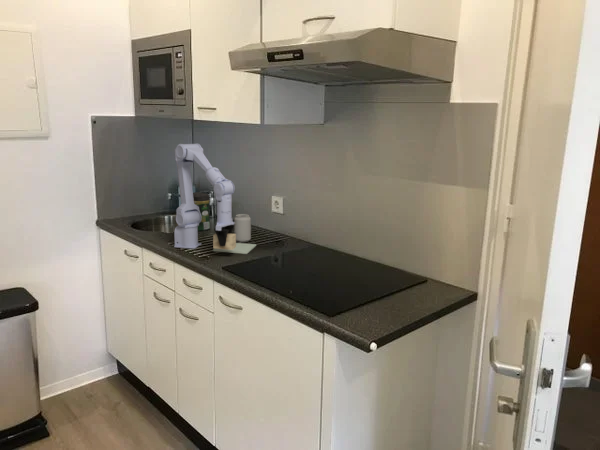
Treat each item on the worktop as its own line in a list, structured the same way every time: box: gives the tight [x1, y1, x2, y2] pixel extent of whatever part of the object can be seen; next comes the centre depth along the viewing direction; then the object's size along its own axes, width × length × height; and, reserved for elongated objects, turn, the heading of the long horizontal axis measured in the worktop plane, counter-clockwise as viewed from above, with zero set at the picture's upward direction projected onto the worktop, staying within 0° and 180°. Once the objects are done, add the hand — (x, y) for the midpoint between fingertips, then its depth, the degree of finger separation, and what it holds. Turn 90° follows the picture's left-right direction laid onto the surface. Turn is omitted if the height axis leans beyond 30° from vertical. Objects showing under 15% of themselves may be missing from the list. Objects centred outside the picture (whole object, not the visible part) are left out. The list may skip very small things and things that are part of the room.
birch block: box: [212, 233, 237, 250], centre depth 195 cm, size 8×4×6 cm, turn 79°
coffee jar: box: [190, 191, 211, 232], centre depth 241 cm, size 10×8×19 cm
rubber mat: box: [212, 242, 257, 255], centre depth 209 cm, size 15×14×1 cm
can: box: [233, 213, 252, 243], centre depth 221 cm, size 8×8×12 cm
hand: (224, 244), depth 195 cm, fingers closed on birch block, 4 cm apart
